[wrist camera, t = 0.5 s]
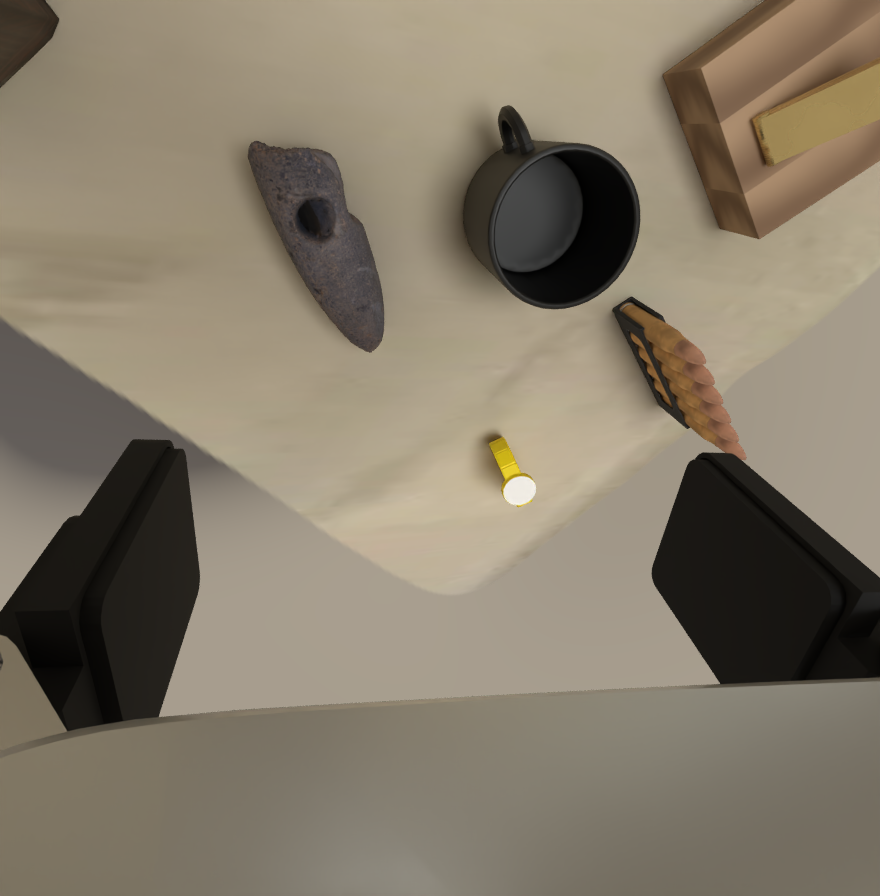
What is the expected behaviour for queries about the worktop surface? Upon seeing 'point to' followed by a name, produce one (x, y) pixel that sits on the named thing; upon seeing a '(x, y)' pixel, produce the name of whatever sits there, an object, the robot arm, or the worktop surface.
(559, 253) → the mug
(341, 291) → the perforated stone tool
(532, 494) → the yellow ring
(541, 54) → the worktop surface
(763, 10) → the walnut block
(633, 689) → the robot arm
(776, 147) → the bar
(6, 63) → the manual coffee grinder
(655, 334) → the ammunition clip
